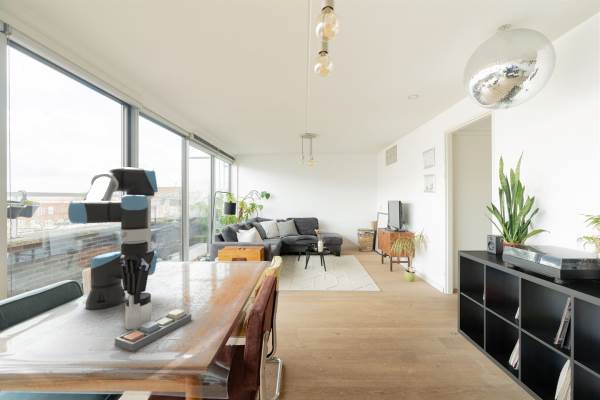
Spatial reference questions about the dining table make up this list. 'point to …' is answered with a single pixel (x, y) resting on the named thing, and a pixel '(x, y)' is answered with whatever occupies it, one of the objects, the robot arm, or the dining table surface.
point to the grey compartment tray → (152, 334)
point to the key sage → (165, 321)
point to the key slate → (149, 327)
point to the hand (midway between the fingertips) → (134, 313)
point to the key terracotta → (134, 336)
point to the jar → (143, 315)
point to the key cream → (176, 314)
